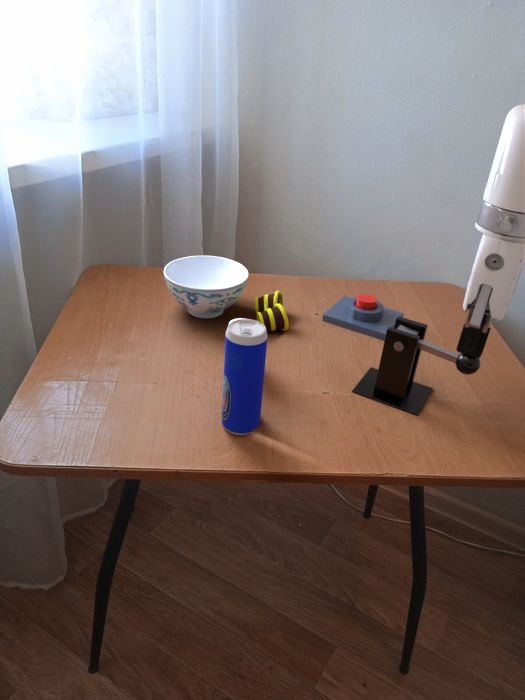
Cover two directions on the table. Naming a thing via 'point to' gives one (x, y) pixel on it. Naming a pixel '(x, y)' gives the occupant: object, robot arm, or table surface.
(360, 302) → the button
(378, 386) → the switch bracket
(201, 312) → the chinaware
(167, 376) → the table surface
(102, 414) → the table surface
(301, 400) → the table surface
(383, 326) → the switch box
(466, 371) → the switch lever
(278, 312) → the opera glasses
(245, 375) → the beverage can
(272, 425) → the table surface
